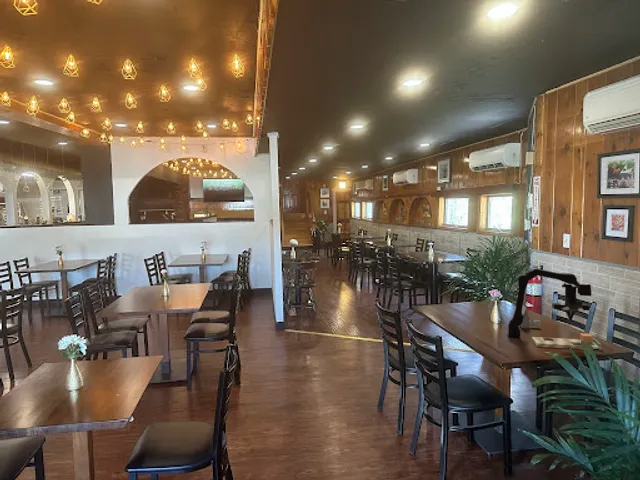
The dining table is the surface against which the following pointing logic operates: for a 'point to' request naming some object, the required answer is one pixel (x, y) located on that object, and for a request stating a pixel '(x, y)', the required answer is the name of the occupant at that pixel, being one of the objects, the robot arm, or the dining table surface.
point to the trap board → (562, 343)
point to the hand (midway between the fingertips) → (570, 320)
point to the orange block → (586, 337)
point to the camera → (528, 319)
